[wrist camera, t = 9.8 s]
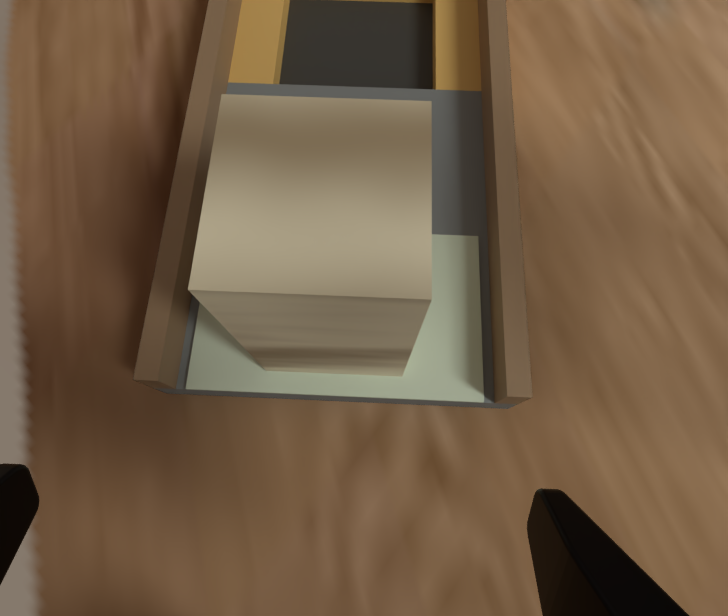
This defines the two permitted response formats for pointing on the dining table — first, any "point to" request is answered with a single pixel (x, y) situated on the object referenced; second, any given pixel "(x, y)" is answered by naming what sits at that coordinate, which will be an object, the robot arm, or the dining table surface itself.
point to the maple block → (318, 231)
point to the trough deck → (449, 194)
